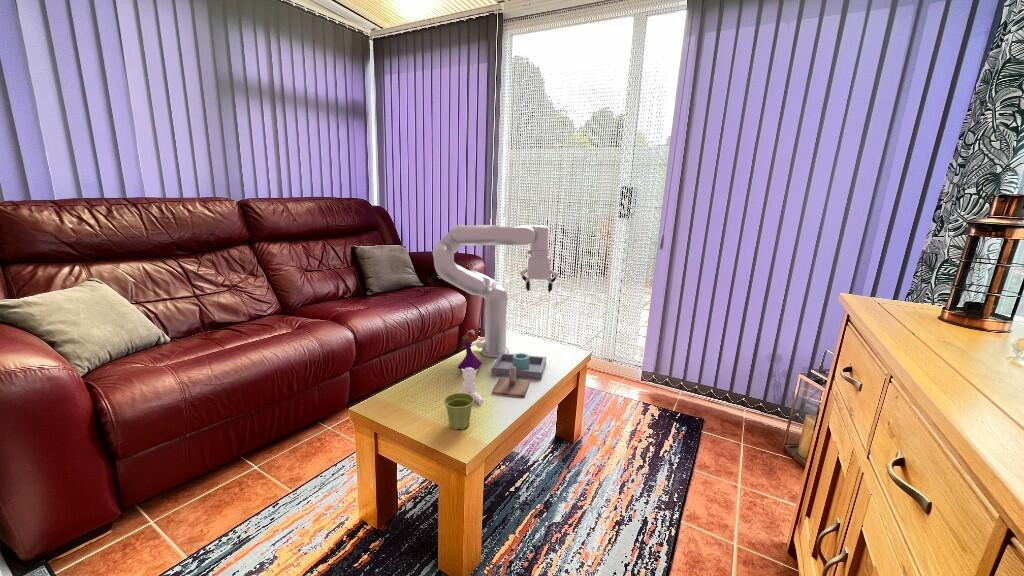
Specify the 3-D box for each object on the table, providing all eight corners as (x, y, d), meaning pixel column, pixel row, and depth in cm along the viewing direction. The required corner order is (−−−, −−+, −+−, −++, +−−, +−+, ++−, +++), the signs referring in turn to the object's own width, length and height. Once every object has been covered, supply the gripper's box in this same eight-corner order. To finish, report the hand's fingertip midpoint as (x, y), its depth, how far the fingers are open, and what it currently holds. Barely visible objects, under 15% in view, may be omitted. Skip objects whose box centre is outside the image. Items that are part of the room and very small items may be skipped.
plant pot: (442, 433, 125) (442, 407, 124) (445, 417, 135) (445, 392, 133) (473, 433, 126) (473, 407, 124) (474, 416, 135) (474, 392, 133)
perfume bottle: (457, 374, 166) (456, 331, 162) (466, 367, 173) (465, 326, 169) (474, 377, 163) (473, 334, 159) (482, 370, 170) (482, 328, 166)
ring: (511, 372, 168) (511, 358, 166) (515, 364, 175) (515, 351, 174) (527, 374, 166) (527, 360, 165) (530, 366, 174) (531, 352, 173)
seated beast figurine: (455, 407, 141) (455, 374, 138) (454, 395, 149) (453, 364, 146) (483, 405, 143) (483, 372, 140) (480, 393, 151) (480, 362, 148)
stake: (491, 394, 150) (491, 374, 149) (499, 379, 162) (499, 361, 160) (524, 397, 148) (524, 378, 146) (529, 383, 160) (530, 364, 158)
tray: (491, 374, 166) (491, 367, 166) (500, 359, 182) (500, 352, 181) (541, 379, 163) (541, 372, 162) (546, 363, 178) (546, 357, 177)
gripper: (518, 254, 182) (518, 292, 186) (557, 255, 178) (556, 294, 182) (522, 251, 189) (522, 288, 193) (560, 253, 185) (559, 290, 189)
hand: (538, 291), depth 187 cm, fingers open, 9 cm apart
